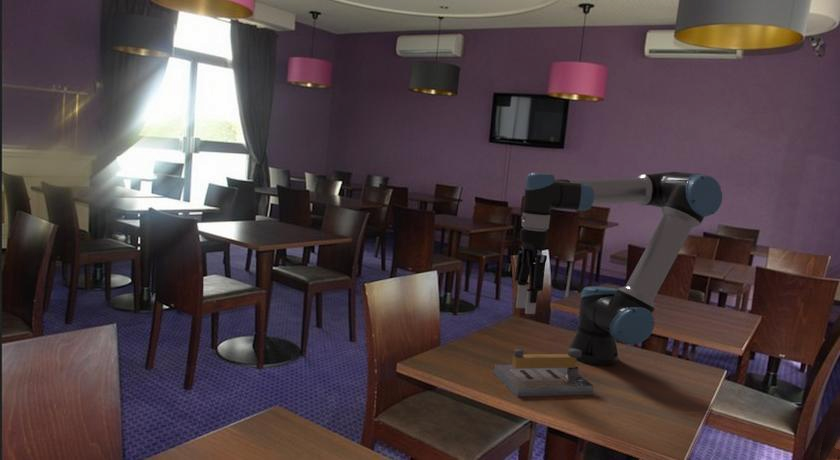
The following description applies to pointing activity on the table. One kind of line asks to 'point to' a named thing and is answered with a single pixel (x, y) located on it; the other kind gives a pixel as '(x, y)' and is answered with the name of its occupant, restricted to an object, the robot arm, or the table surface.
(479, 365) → the table surface
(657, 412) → the table surface
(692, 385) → the table surface
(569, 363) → the yellow wooden bar
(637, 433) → the table surface
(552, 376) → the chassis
